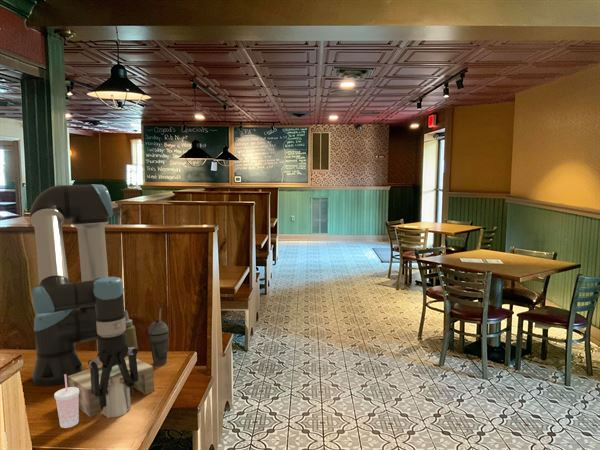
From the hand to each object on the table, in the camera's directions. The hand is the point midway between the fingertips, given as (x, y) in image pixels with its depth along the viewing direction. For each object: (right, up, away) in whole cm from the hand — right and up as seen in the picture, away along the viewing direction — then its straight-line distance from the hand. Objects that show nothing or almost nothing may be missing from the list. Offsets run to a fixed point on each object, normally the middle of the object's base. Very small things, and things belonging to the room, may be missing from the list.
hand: (117, 411), depth 130 cm
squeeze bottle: (-12, +3, +39) cm, 41 cm away
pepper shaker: (0, -1, 0) cm, 0 cm away
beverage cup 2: (+2, +3, +35) cm, 35 cm away
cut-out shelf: (-5, +1, +10) cm, 12 cm away
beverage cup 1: (-11, -1, -5) cm, 12 cm away
